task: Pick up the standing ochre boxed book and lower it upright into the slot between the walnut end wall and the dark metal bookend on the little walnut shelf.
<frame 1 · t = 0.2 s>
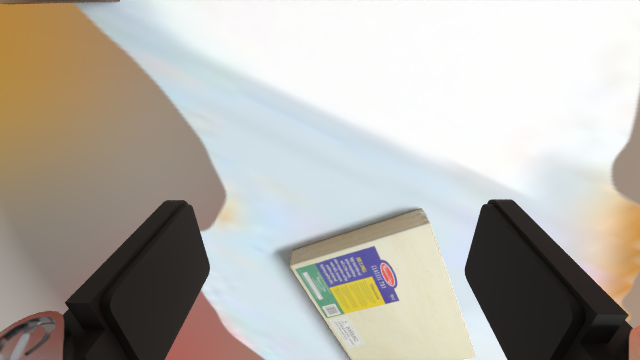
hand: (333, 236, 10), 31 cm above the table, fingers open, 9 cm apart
puzzle box: (387, 294, 56), on the table
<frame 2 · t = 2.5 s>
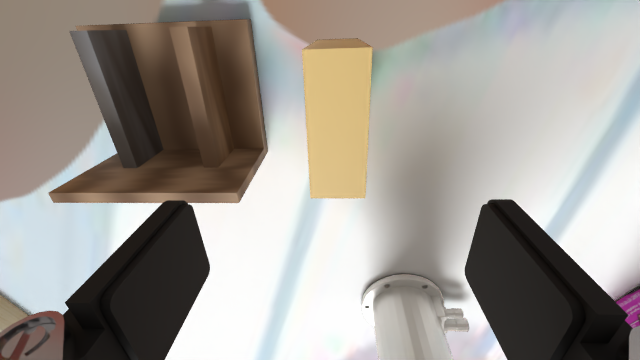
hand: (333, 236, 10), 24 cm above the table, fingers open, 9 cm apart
candy bar box: (629, 300, 43), on the table
ochre book: (337, 90, 31), on the table
shelf: (185, 94, 32), on the table
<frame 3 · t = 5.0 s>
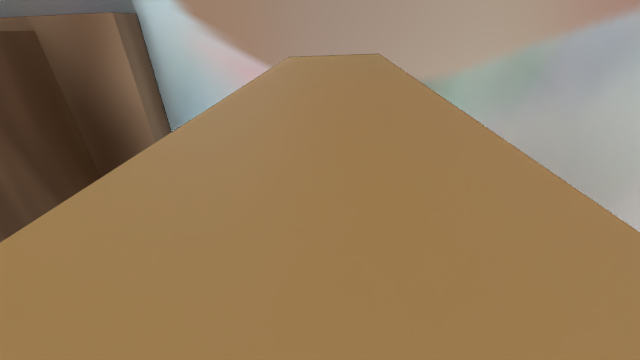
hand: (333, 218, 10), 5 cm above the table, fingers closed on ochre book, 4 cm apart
ochre book: (334, 158, 15), on the table, touching gripper
shelf: (35, 163, 16), on the table
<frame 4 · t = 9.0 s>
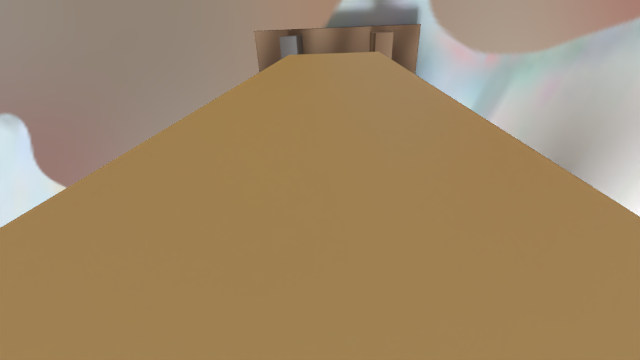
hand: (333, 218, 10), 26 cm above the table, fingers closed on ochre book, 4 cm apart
ochre book: (334, 156, 15), point 21 cm above the table, touching gripper
shelf: (336, 94, 34), on the table
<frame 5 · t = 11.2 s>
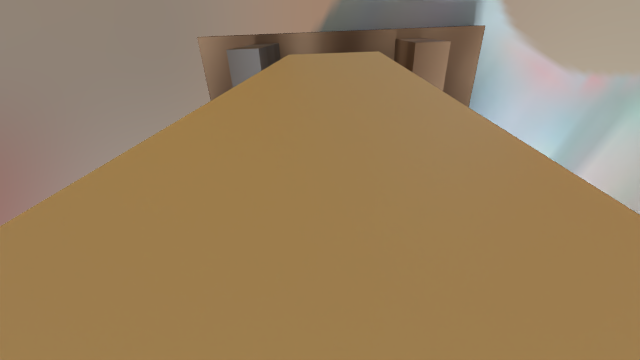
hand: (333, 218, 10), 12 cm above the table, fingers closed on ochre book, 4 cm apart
ochre book: (334, 156, 15), point 7 cm above the table, touching gripper
shelf: (337, 136, 22), on the table
when the fingers open (8 cm above the table, at t = 12.9 s): ochre book stays where it is, resting on shelf.
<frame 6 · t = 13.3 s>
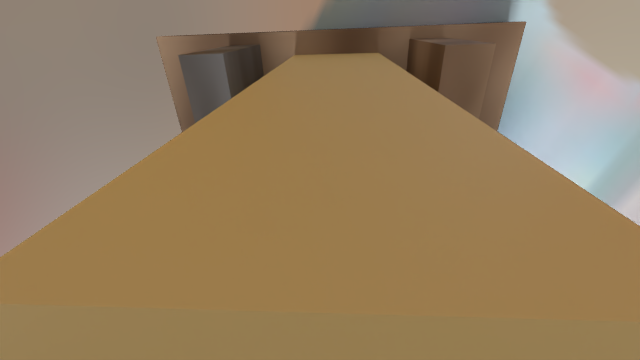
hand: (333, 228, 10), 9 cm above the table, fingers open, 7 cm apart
ochre book: (336, 151, 16), point 1 cm above the table, touching shelf
shelf: (335, 156, 18), on the table
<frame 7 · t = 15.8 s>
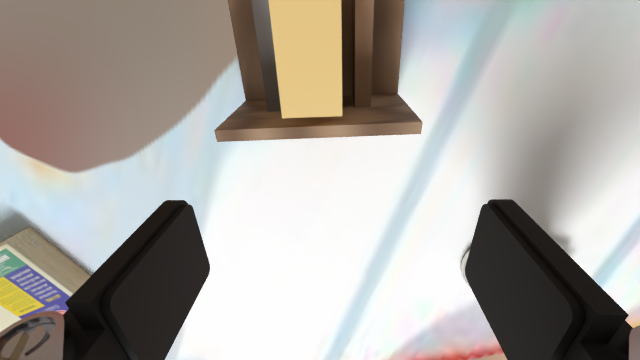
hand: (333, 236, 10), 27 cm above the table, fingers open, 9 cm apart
ochre book: (317, 26, 29), point 1 cm above the table, touching shelf
shelf: (317, 36, 30), on the table
puzzle box: (30, 299, 55), on the table
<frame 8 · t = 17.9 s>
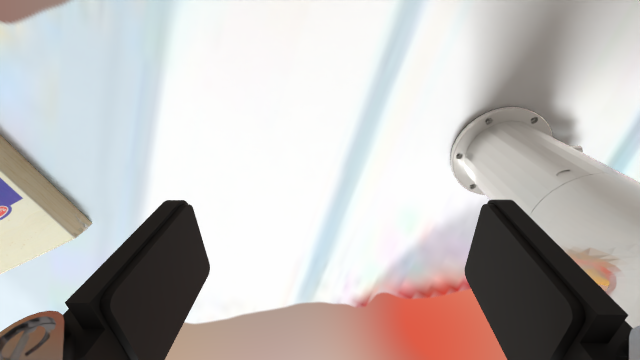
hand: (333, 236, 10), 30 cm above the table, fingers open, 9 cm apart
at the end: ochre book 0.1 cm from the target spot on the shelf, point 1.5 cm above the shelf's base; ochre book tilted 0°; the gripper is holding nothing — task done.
